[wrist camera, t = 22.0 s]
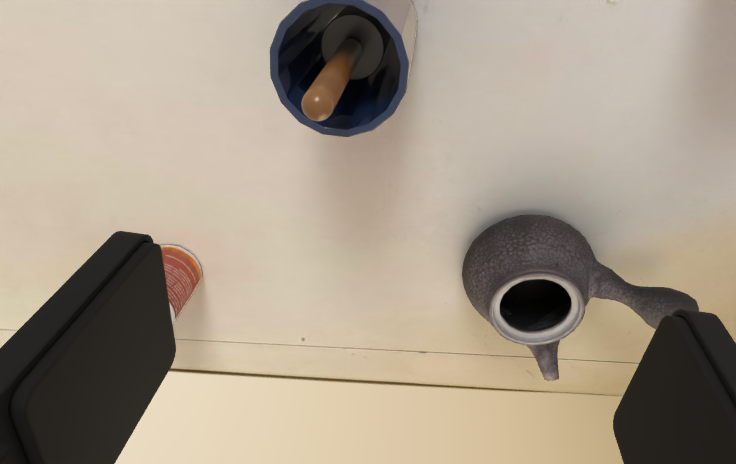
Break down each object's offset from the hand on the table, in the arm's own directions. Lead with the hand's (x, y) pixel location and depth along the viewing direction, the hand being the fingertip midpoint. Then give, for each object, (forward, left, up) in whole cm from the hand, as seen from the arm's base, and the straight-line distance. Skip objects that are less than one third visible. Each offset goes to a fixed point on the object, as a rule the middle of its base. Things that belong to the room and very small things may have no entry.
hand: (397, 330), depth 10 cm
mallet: (+2, -5, -37) cm, 37 cm away
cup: (+2, -5, -38) cm, 38 cm away
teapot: (+23, +16, -38) cm, 47 cm away
